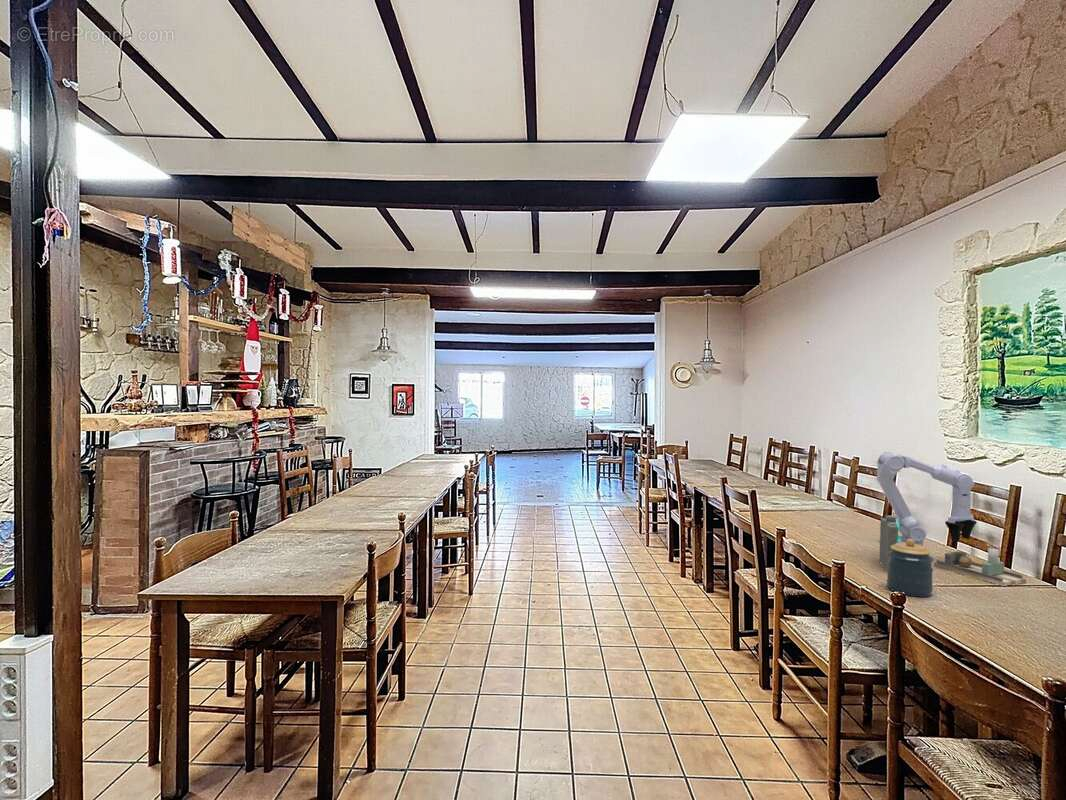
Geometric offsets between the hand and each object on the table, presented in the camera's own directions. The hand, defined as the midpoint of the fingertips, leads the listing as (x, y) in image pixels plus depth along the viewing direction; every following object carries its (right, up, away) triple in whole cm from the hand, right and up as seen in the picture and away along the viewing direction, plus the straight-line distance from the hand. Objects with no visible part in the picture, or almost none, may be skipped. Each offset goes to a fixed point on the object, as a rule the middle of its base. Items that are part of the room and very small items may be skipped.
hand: (960, 539), depth 219 cm
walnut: (-2, -7, -5) cm, 9 cm away
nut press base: (0, -11, -9) cm, 14 cm away
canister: (-38, -11, -28) cm, 48 cm away
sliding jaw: (+1, -9, -14) cm, 16 cm away
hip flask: (-29, -10, -3) cm, 31 cm away
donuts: (-5, -10, +32) cm, 34 cm away
